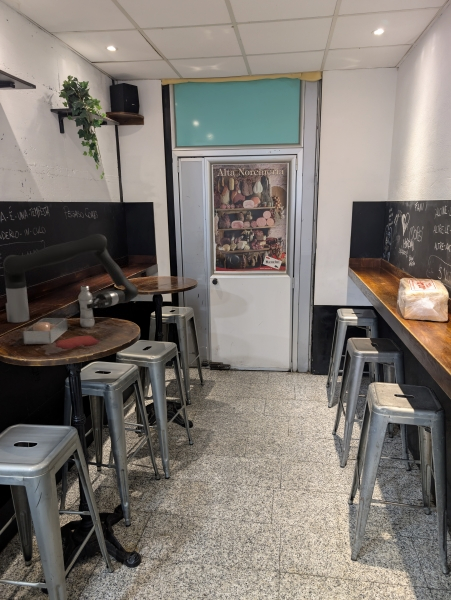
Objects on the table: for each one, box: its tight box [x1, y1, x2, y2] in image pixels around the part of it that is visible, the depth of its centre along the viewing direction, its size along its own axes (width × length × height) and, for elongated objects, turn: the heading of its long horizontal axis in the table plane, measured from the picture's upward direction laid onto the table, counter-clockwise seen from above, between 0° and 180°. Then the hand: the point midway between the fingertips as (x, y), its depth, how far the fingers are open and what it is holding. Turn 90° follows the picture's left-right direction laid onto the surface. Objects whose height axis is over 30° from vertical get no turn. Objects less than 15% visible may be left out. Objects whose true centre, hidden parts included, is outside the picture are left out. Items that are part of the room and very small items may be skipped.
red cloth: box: [54, 335, 99, 350], centre depth 178 cm, size 18×14×2 cm
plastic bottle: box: [77, 285, 95, 328], centre depth 201 cm, size 6×7×20 cm
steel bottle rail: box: [22, 317, 69, 345], centre depth 186 cm, size 11×22×6 cm, turn 2°
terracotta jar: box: [32, 322, 50, 331], centre depth 181 cm, size 7×7×7 cm
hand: (82, 305), depth 199 cm, fingers closed on plastic bottle, 6 cm apart
